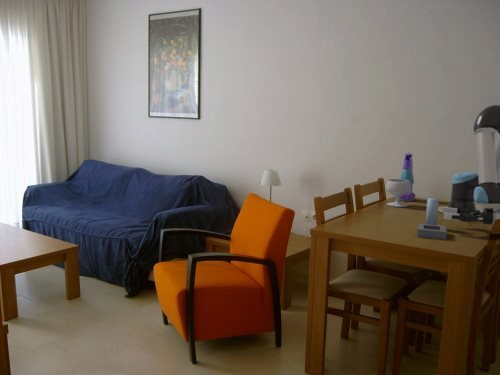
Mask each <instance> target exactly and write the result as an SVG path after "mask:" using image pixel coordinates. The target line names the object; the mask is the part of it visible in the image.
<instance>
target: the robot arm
mask: <svg viewBox="0 0 500 375" xmlns="http://www.w3.org/2000/svg"><path fill="white" fill-rule="evenodd" d="M495 134H497V136H496V140H495ZM473 135H474V136H475V138H476V152H477V153H476V154H477V170H478V173H477V172H475V171H464V172H463V171H462V172H457V173H455V174H453V176H452V181H451V184H452V185H451V196H450V202H449V203H448V206H447V207H445V206H443V207H442V212H441V213H442V214H443V219H444V220H454V221H460V222H463V223H464V222H480V223H481V222H482V224H483V225H493V224H494V222H495V220H497V219H500V208H490V207H484V208H483V209H482V211H480V209H477V207H476V204H475V203H477V204H484V205H500V104H493V105H489V106H487V107H485V108H483V109H482V110H481V111H480V112H479V114H478V115H477V116H476V119H475V121H474V123H473Z"/></svg>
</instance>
